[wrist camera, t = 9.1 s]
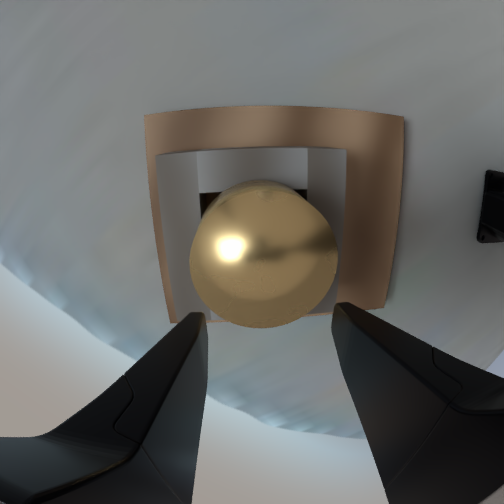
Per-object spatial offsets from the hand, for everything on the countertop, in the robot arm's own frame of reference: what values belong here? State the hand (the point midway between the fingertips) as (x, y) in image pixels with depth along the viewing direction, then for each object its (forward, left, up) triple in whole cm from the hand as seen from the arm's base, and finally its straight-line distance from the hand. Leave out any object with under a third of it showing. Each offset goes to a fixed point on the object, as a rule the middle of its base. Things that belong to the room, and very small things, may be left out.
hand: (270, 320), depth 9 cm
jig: (-2, 0, -11) cm, 11 cm away
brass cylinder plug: (0, 0, -10) cm, 10 cm away
